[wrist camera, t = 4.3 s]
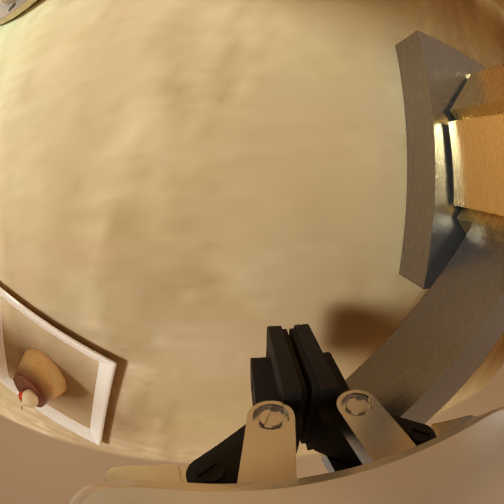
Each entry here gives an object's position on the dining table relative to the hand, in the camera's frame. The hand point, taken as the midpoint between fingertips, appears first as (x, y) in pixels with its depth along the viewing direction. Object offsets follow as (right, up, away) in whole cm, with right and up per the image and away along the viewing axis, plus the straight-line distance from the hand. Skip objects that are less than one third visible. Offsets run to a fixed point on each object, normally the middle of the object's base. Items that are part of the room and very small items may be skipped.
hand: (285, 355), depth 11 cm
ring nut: (+11, +5, 0) cm, 12 cm away
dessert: (-18, -5, +5) cm, 19 cm away
